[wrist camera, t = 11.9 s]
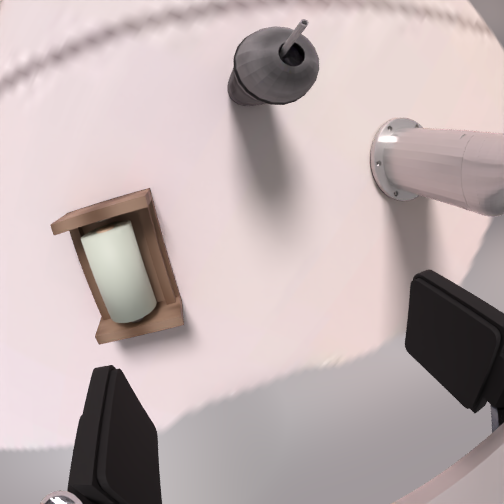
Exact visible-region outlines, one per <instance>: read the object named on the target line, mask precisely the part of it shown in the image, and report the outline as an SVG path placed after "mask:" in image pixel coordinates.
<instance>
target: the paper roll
mask: <svg viewBox="0 0 504 504" xmlns="http://www.w3.org/2000/svg"><path fill="white" fill-rule="evenodd" d="M81 241H82V244H83V247H84V250H85V253H86V256H87V259H88V262H89V264H90V267H91V270H92V273H93V275H94V278H95V281H96V283H97V286H98V288H99V291H100V293H101V296H102V298H103V301H104V303H105V305H106V308H107V310H108V313H109V315H110V317H111V319H112V320H113V321H114V322H117V323H128V322H132V321H136V320H138V319H140V318H143V317H144V316H146V315H148V314H149V313H150V312H151V311H152V310H153V309H154V308H155V306H156V304H157V302H156V299H155V296H154V293H153V290H152V287H151V284H150V281H149V278H148V275H147V272H146V269H145V266H144V263H143V260H142V257H141V254H140V251H139V247H138V244H137V241H136V237H135V234H134V231H133V227H132V224H131V221H130V220H123V221H117V222H113V223H110V224H107V225H104V226H101V227H99V228H96V229H94V230H92V231H90V232H88V233H86V234H85V235H83V236H82V237H81Z"/></svg>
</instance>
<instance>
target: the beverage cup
mask: <svg viewBox="0 0 504 504" xmlns="http://www.w3.org/2000/svg"><path fill="white" fill-rule="evenodd" d="M307 25H308V21H307V20H305V19H303V20H301V21H300V23H299V24H298V25H297V27H296V28H295V30H292V29H290V28H285V27H269V28H264V29H261V30H259V31H257V32H254V33H253V34H251V35H249V36H247V37H246V38H245V39H244V40H243V41H242V42H241V43H240V44H239V46H238V47H237V50H236V53H235V55H234V68H233V71H232V73H231V76H230V78H229V81H228V93H229V96H230V97H231V99H232V100H233V101H234V102H236V103H237V104H240V105H243V106H254V105H259V104H265V103H268V104H275V105H284V104H288V103H291V102H295V101H297V100H298V99H299V98H301V97H302V96H304V95H305V94H306V92H308V91H309V89H310V88H311V87H312V85H313V84H314V82H315V81H316V78H317V74H318V71H319V58H318V55H317V53H316V50H315V47H314V46H313V45H312V44H311V42H310V41H309V40H308V39H307V38H306V37H305V36H303V35H302V34H301V33H302V32H303V30H304V29H305V28H306V27H307Z"/></svg>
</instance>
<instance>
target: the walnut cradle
mask: <svg viewBox="0 0 504 504" xmlns="http://www.w3.org/2000/svg"><path fill="white" fill-rule="evenodd" d="M123 220H130V221H131V224H132V227H133V231H134V234H135V237H136V241H137V244H138V247H139V251H140V254H141V257H142V260H143V263H144V266H145V269H146V272H147V275H148V278H149V281H150V284H151V287H152V290H153V293H154V296H155V299H156V302H157V304H156V306H155V308H154V309H153V310H152V311H151V312H150V313H149V314H148V315H146V316H144V317H143V318H140V319H138V320H136V321H132V322H128V323H117V322H114V321H113V320H112V319H111V317H110V315H109V313H108V310H107V308H106V305H105V303H104V301H103V298H102V296H101V293H100V291H99V288H98V286H97V283H96V281H95V278H94V275H93V273H92V270H91V267H90V264H89V262H88V259H87V256H86V253H85V250H84V247H83V244H82V241H81V237H82V236H83V235H85V234H86V233H88V232H90V231H92V230H94V229H96V228H99V227H101V226H104V225H107V224H110V223H113V222H117V221H123ZM51 228H52V231H53V234H54V235H57V234H60V233H63V232H66V231H70V234H71V237H72V241H73V244H74V246H75V249H76V252H77V255H78V258H79V261H80V264H81V266H82V269H83V272H84V274H85V277H86V280H87V282H88V285H89V287H90V290H91V292H92V295H93V297H94V299H95V302H96V304H97V307H98V309H99V311H100V314H101V316H102V317H101V320H100V323H99V326H98V329H97V332H96V335H95V338H96V340H97V342H98V344H104V343H108V342H113V341H117V340H122V339H126V338H131V337H135V336H140V335H144V334H148V333H152V332H156V331H161V330H165V329H169V328H173V327H177V326H181V325H184V321H183V309H182V300H181V297H180V294H179V291H178V287H177V284H176V281H175V278H174V274H173V271H172V268H171V264H170V261H169V258H168V254H167V251H166V247H165V244H164V240H163V236H162V233H161V229H160V225H159V222H158V218H157V214H156V210H155V206H154V203H153V199H152V195H151V191H150V188H148V189H145V190H141V191H137V192H134V193H130V194H127V195H123V196H120V197H117V198H113V199H110V200H107V201H103V202H100V203H97V204H94V205H91V206H88V207H84V208H81V209H78V210H75V211H72V212H69V213H67V214H66V215H64V216H63V217H61V218H60V219H58V220H57V221H55V222H54V223H52V224H51Z"/></svg>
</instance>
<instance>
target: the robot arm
mask: <svg viewBox="0 0 504 504" xmlns="http://www.w3.org/2000/svg"><path fill="white" fill-rule="evenodd" d="M371 168H372V172H373V176H374V178H375V181H376V183H377V184H378V186H379V188H380V189H381V190H382V191H383V192H384V193H385V194H386V195H388V196H389V197H391V198H393V199H396V200H400V201H409V200H412V199H414V198H416V197H418V196H419V195H420V196H424V197H427V198H431V199H434V200H437V201H441V202H444V203H447V204H450V205H454V206H457V207H460V208H463V209H466V210H469V211H472V212H475V213H478V214H481V215H484V216H490V217H495V216H500V215H503V214H504V134H502V133H490V132H479V131H467V130H452V129H430V128H423V127H422V126H421V125H420V124H419V123H417V122H416V121H414V120H412V119H409V118H394V119H391V120H389V121H387V122H386V123H384V124H383V125H382V126H381V127H380V129H379V130H378V132H377V133H376V135H375V138H374V140H373V143H372V148H371ZM405 347H406V350H407V352H408V353H409V354H410V355H411V356H412V357H413V358H414V359H416V360H417V361H418V362H419V363H420V364H421V365H422V366H423V367H424V368H425V369H426V370H427V371H428V372H429V373H430V374H431V375H432V376H433V377H434V378H435V379H436V380H437V381H438V382H439V383H440V384H442V386H444V387H445V388H446V389H447V390H448V391H449V392H450V393H451V394H452V395H453V396H454V397H455V398H456V399H457V400H458V401H459V402H460V403H461V404H462V405H463V406H464V407H465V408H467V409H468V408H470V409H471V410H472V411H473V412H474V413H476V412H477V411H479V410H480V409H481V408H482V407H484V406H485V404H486V402H487V401H488V402H489V403H490V404H491V418H492V434H491V435H490V436H488V437H487V438H486V439H485V440H484V441H482V442H481V443H480V444H479V445H478V446H476V447H475V448H474V449H473V450H471V451H470V452H469V453H468V454H466V455H465V456H464V457H462V458H461V459H460V460H458V461H457V462H456V463H454V464H453V465H452V466H451V467H449V468H448V469H446V470H445V471H443V472H442V473H440V474H439V475H437V476H436V477H435V478H433V479H432V480H430V481H428V482H427V483H425V484H424V485H422V486H420V487H419V488H417V489H416V490H414V491H412V492H411V493H409V494H408V495H405V496H404V497H402V498H400V499H398V500H397V501H395V502H393V503H391V504H504V313H502V312H500V311H499V310H497V309H496V308H494V307H493V306H491V305H489V304H488V303H486V302H485V301H483V300H481V299H480V298H478V297H476V296H475V295H473V294H472V293H470V292H468V291H466V290H465V289H463V288H462V287H460V286H458V285H456V284H455V283H453V282H451V281H450V280H448V279H446V278H444V277H443V276H441V275H439V274H437V273H436V272H434V271H432V270H426V271H423V272H421V273H418V274H416V275H415V276H414V278H413V281H412V282H411V285H410V299H409V311H408V321H407V330H406V338H405ZM40 504H162V499H161V487H160V474H159V458H158V438H157V431H156V428H155V426H154V424H153V422H152V421H151V419H150V418H149V416H148V415H147V413H146V411H145V410H144V408H143V407H142V405H141V403H140V402H139V400H138V398H137V397H136V395H135V393H134V391H133V390H132V388H131V386H130V384H129V383H128V381H127V379H126V377H125V375H124V374H123V372H122V370H121V369H116V368H115V367H114V366H113V365H109V366H104V367H98V368H95V369H94V370H93V372H92V376H91V380H90V384H89V388H88V393H87V397H86V401H85V406H84V410H83V415H82V416H81V417H80V420H79V424H78V429H77V434H76V439H75V445H74V450H73V456H72V462H71V469H70V475H69V483H68V491H61V490H60V491H54V492H52V493H50V494H48V495H46V496H45V497H44V498H43V499H42V501H41V502H40Z"/></svg>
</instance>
